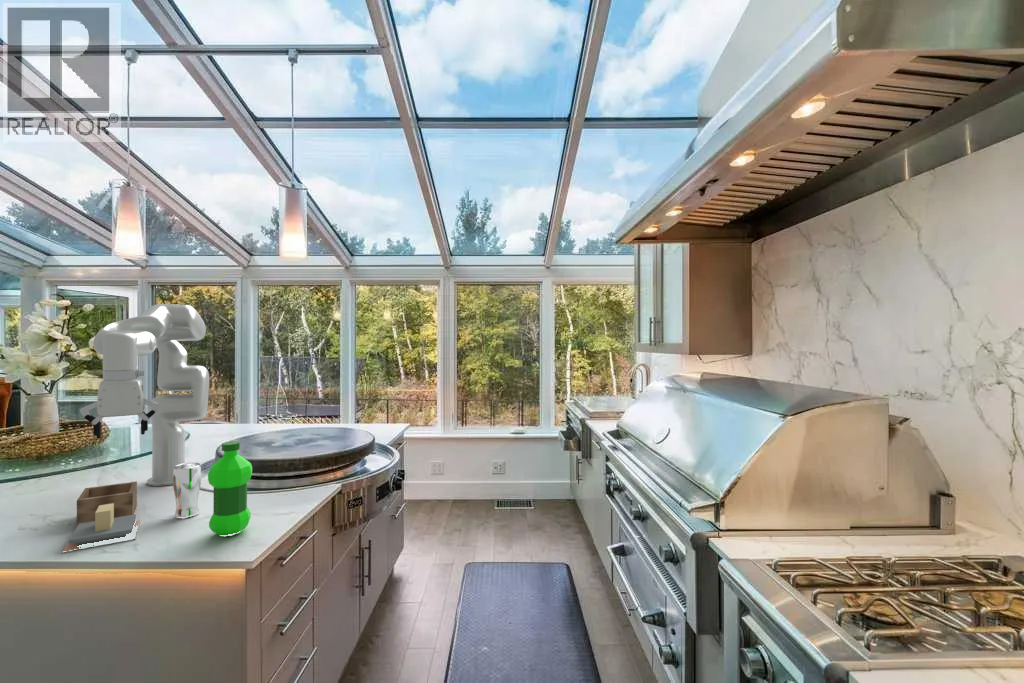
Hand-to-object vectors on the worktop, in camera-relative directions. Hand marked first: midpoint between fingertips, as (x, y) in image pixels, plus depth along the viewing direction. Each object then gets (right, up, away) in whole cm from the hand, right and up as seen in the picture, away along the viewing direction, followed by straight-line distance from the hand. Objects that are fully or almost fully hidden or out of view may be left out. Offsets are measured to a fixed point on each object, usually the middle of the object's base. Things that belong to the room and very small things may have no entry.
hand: (121, 435), depth 131 cm
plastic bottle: (+34, -26, -4) cm, 43 cm away
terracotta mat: (+2, -26, -8) cm, 27 cm away
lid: (+2, -25, -8) cm, 26 cm away
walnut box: (-8, -25, +5) cm, 27 cm away
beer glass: (+14, -26, +7) cm, 30 cm away
